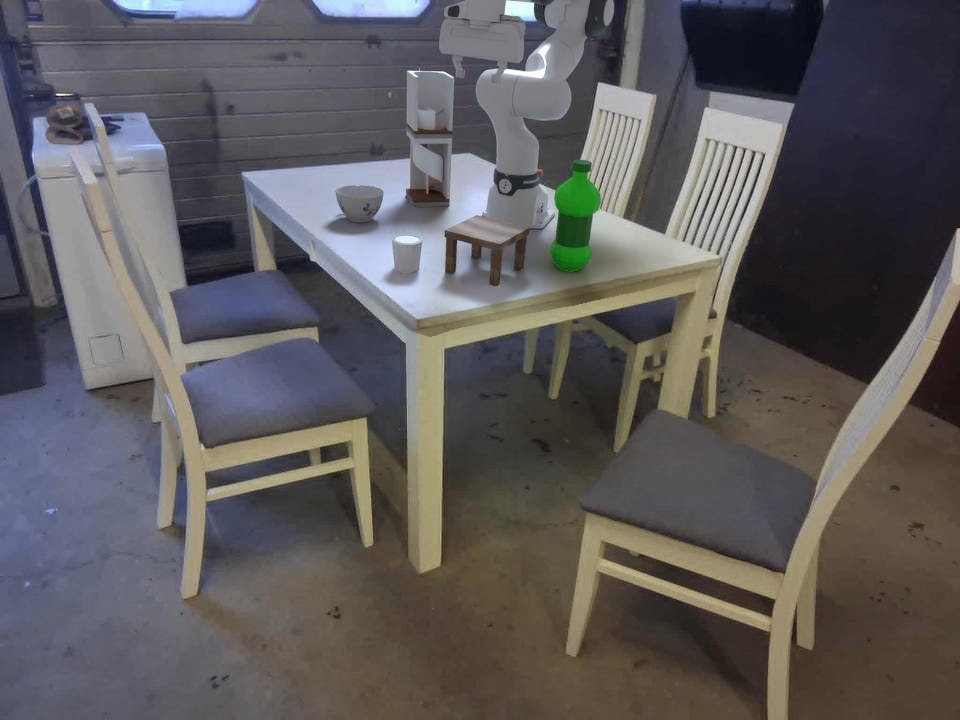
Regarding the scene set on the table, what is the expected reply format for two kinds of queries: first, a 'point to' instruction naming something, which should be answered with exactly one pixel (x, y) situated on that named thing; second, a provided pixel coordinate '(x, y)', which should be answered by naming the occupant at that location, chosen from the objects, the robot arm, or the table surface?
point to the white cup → (406, 253)
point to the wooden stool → (486, 243)
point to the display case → (429, 136)
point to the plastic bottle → (575, 218)
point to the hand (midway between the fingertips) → (477, 80)
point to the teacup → (359, 201)
